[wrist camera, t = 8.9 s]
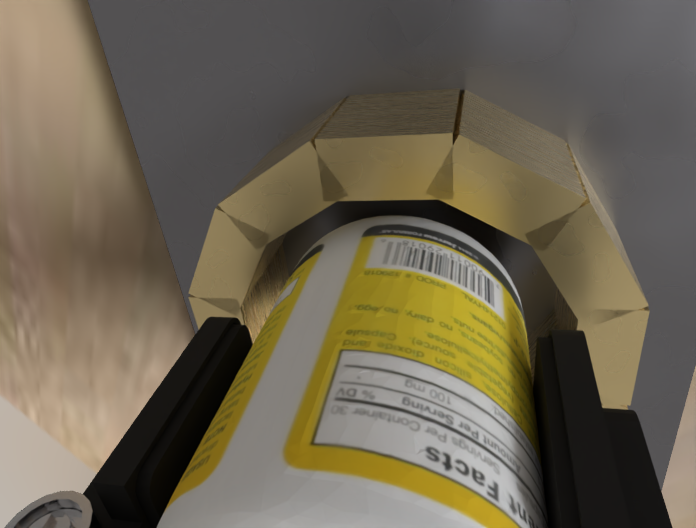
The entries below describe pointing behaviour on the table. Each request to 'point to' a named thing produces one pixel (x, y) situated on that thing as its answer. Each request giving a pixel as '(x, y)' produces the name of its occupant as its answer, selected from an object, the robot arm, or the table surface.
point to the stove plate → (434, 156)
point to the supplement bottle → (378, 395)
